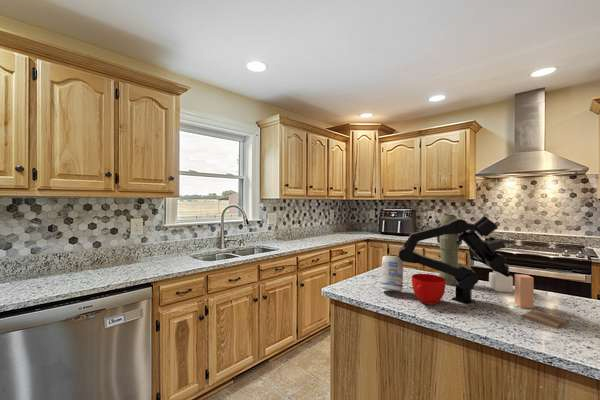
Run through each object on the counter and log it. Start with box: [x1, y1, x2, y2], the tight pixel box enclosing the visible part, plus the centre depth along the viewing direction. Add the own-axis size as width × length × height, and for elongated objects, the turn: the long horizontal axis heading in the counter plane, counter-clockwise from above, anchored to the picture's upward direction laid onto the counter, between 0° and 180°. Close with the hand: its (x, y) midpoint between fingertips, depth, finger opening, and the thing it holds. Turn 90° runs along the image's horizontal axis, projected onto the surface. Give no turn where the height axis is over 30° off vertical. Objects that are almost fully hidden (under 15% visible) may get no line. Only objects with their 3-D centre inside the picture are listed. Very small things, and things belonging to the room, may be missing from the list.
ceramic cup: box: [411, 273, 446, 305], centre depth 116 cm, size 13×17×10 cm
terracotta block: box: [514, 273, 535, 309], centre depth 113 cm, size 4×4×12 cm
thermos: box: [436, 214, 463, 287], centre depth 143 cm, size 9×12×35 cm
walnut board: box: [520, 309, 570, 329], centre depth 100 cm, size 10×10×1 cm
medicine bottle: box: [488, 264, 514, 293], centre depth 133 cm, size 7×7×12 cm
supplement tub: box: [380, 255, 404, 292], centre depth 130 cm, size 10×10×15 cm
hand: (503, 273), depth 115 cm, fingers open, 9 cm apart
